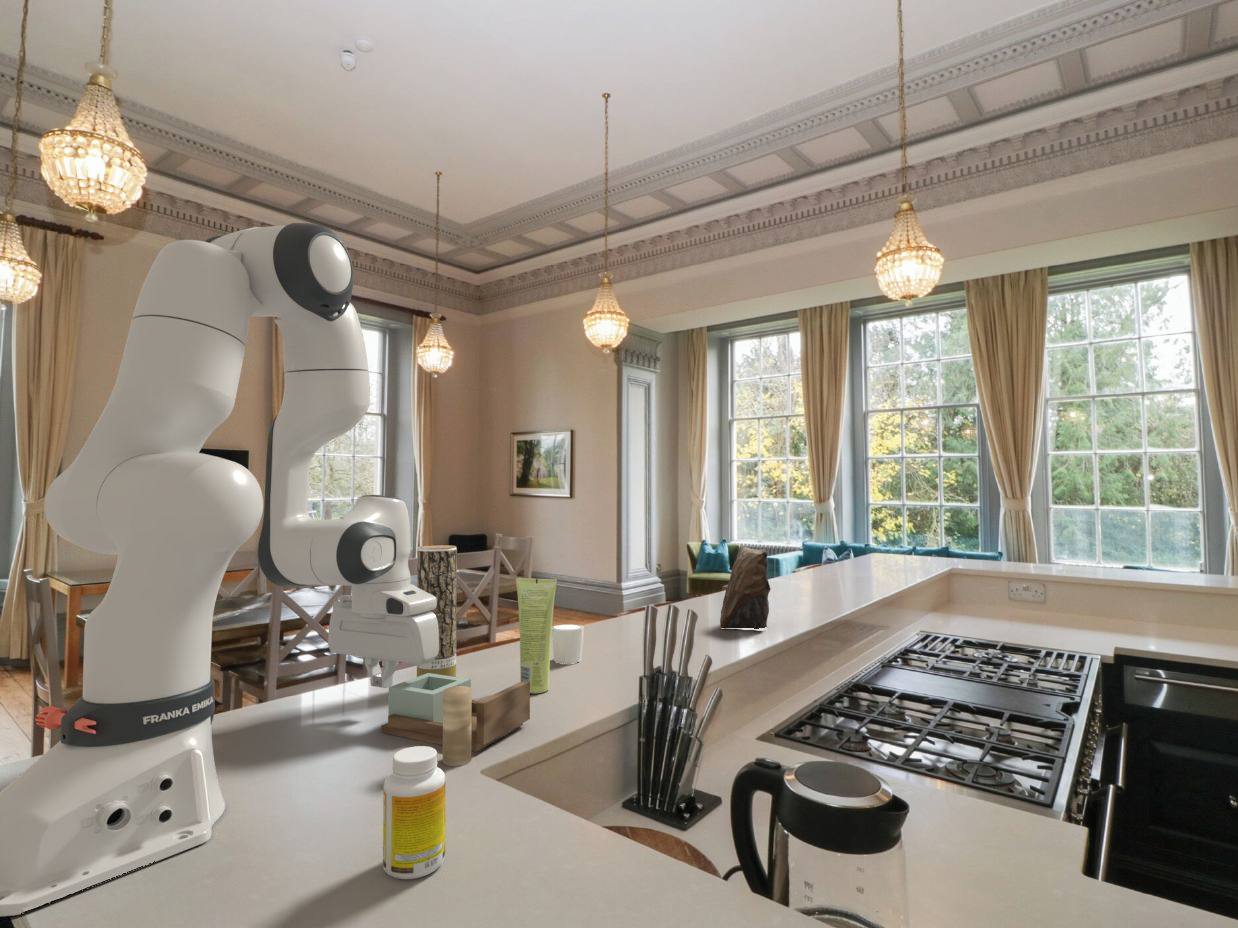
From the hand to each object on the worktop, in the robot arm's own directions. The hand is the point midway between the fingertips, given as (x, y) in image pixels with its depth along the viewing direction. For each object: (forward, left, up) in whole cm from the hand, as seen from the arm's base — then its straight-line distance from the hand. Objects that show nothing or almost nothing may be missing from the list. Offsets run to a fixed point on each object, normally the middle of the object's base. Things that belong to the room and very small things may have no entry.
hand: (381, 686), depth 104 cm
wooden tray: (0, -15, -4) cm, 15 cm away
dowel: (-9, -22, -4) cm, 25 cm away
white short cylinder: (+41, -11, -5) cm, 42 cm away
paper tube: (+15, +1, -5) cm, 15 cm away
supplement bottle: (-30, -34, -5) cm, 46 cm away
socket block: (0, -10, -3) cm, 11 cm away
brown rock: (+89, -35, -5) cm, 95 cm away
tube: (+21, -16, -5) cm, 26 cm away
